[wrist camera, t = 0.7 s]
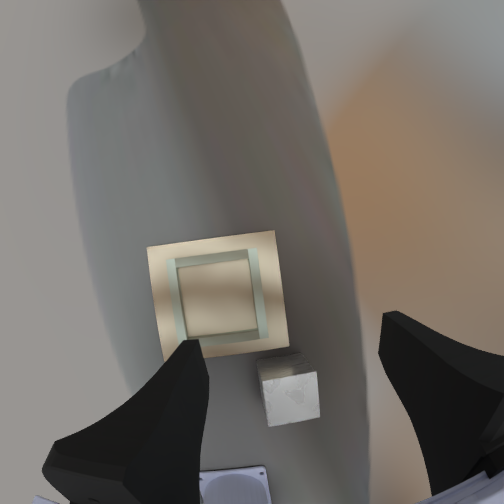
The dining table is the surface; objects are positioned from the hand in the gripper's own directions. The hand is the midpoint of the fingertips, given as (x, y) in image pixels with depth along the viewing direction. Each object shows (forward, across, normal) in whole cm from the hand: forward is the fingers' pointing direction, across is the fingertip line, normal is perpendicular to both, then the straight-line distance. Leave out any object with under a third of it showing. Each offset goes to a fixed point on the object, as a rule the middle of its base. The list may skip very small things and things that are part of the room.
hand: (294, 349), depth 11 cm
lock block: (+14, 0, +14) cm, 20 cm away
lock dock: (+17, +5, +6) cm, 19 cm away
